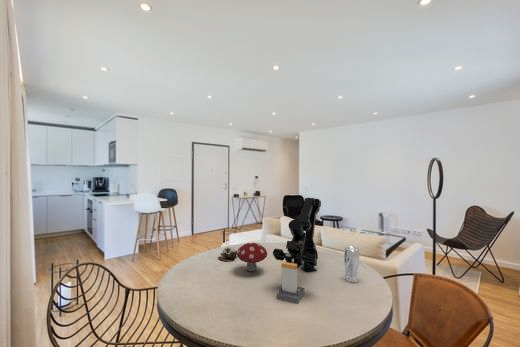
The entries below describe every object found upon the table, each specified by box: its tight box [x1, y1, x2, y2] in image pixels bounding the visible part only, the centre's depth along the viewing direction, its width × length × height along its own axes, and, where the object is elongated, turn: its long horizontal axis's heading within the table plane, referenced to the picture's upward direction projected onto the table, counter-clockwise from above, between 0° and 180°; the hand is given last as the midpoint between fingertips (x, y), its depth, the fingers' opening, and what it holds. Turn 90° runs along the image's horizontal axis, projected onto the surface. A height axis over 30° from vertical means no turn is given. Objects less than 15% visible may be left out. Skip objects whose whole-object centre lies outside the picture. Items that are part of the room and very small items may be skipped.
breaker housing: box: [276, 284, 306, 305], centre depth 101 cm, size 10×9×4 cm
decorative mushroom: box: [237, 242, 268, 272], centre depth 125 cm, size 16×16×15 cm
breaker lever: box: [281, 261, 298, 294], centre depth 99 cm, size 2×6×12 cm, turn 65°
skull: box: [218, 245, 239, 262], centre depth 144 cm, size 12×10×10 cm
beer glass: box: [343, 246, 360, 284], centre depth 116 cm, size 7×7×15 cm
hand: (290, 276), depth 99 cm, fingers closed, pressing on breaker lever
